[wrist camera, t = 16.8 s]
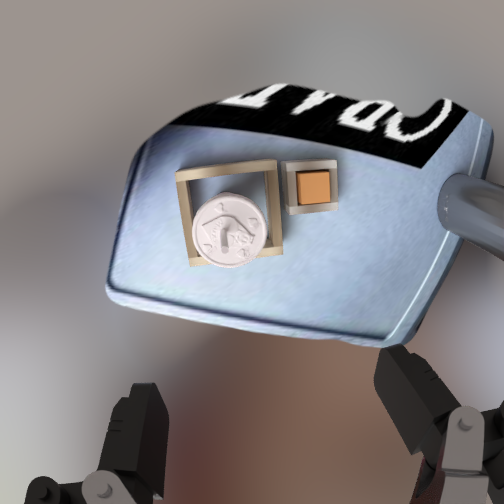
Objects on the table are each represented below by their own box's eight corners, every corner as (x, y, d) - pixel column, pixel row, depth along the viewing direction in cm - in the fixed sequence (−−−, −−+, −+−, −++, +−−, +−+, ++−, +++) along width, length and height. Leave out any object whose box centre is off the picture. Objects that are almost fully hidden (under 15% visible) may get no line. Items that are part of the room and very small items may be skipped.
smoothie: (207, 172, 32) (200, 195, 19) (261, 189, 33) (291, 222, 20) (191, 226, 34) (177, 280, 21) (244, 240, 35) (260, 301, 22)
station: (326, 154, 32) (336, 156, 30) (329, 238, 36) (338, 246, 34) (178, 169, 31) (174, 172, 29) (192, 256, 35) (190, 266, 32)
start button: (321, 169, 32) (329, 172, 30) (322, 197, 33) (330, 201, 31) (294, 171, 32) (300, 174, 29) (296, 199, 33) (301, 204, 31)
